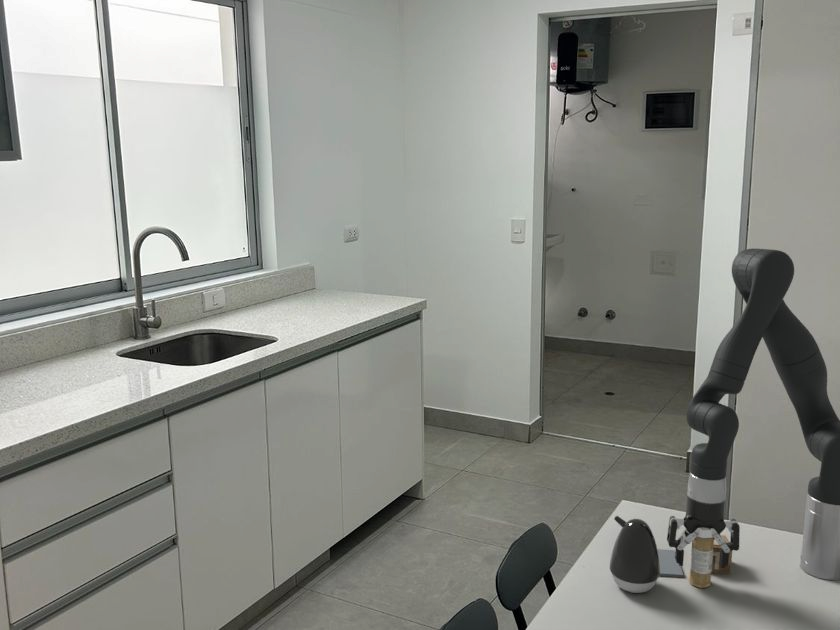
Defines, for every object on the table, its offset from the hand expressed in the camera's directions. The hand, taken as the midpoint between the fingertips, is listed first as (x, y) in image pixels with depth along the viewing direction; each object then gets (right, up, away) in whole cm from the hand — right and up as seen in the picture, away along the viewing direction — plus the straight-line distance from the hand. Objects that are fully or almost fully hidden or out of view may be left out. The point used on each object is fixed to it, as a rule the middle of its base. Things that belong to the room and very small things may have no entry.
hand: (700, 565), depth 173 cm
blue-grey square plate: (-8, -2, +9) cm, 12 cm away
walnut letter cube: (+5, -3, +8) cm, 10 cm away
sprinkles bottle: (0, -4, +1) cm, 4 cm away
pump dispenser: (-14, -5, 0) cm, 15 cm away
